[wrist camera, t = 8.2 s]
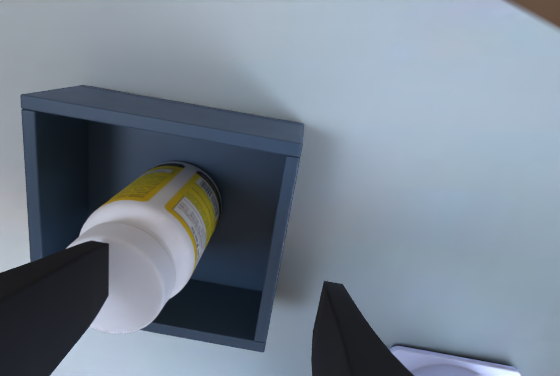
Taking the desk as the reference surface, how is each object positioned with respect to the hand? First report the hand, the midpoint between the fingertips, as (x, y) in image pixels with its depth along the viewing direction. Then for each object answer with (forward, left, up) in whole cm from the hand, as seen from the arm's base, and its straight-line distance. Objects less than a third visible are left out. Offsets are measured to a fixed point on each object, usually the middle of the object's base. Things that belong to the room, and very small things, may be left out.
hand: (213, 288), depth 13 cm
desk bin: (-1, +4, -9) cm, 10 cm away
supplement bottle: (-1, +4, -9) cm, 10 cm away
